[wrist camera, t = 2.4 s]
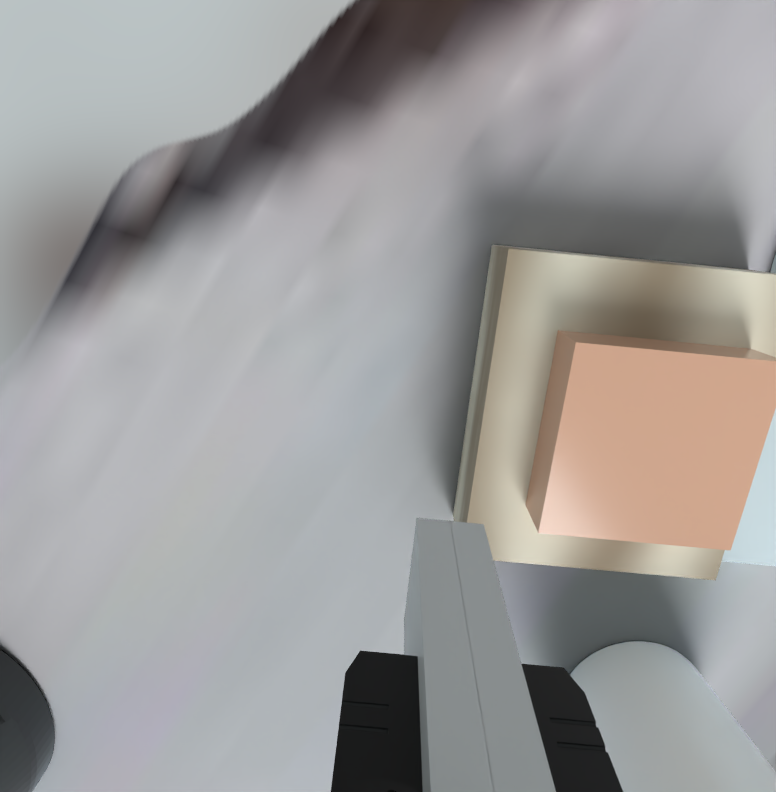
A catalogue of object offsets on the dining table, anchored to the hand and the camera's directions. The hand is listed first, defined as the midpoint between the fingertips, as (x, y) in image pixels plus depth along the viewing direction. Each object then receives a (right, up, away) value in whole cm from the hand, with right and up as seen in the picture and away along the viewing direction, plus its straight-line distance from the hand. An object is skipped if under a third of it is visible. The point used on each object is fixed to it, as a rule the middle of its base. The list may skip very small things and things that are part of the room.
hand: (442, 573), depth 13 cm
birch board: (+9, +4, +15) cm, 18 cm away
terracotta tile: (+9, +3, +11) cm, 15 cm away
